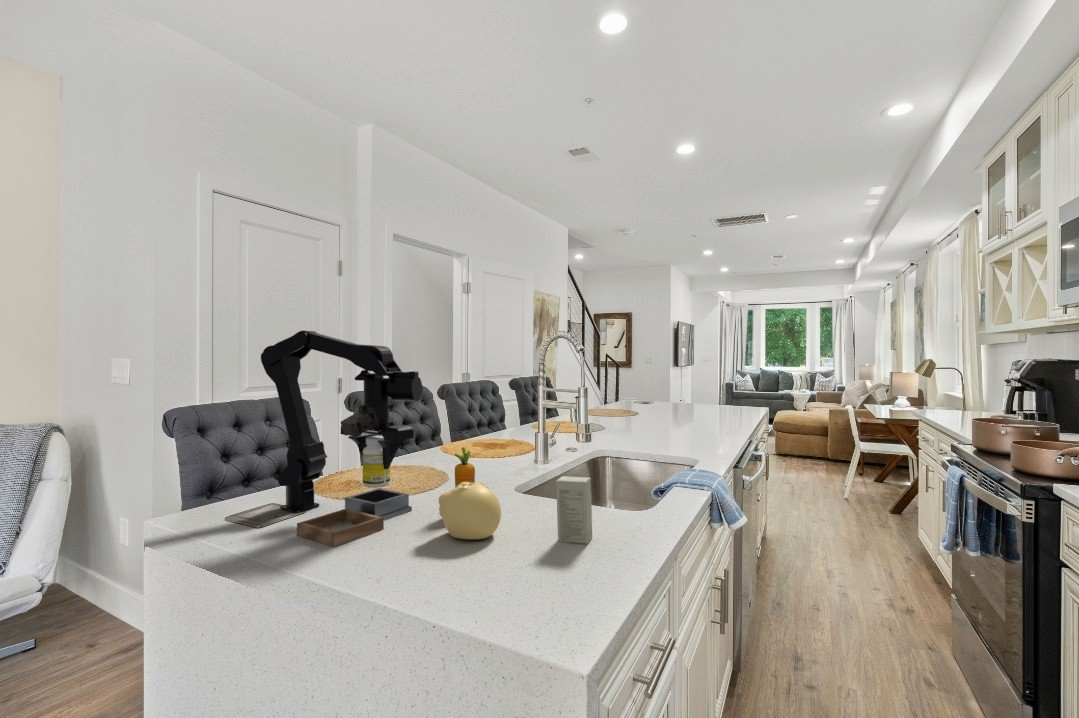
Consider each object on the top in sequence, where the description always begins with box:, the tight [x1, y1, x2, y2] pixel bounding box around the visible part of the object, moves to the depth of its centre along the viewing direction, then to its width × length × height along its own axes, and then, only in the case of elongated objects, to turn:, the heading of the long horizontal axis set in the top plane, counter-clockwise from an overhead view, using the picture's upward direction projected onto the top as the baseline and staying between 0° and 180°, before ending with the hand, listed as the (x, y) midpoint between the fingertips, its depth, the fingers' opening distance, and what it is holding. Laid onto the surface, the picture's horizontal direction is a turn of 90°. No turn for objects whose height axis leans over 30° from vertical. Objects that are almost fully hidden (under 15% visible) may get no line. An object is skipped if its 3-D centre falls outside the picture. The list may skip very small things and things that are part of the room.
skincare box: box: [555, 475, 593, 544], centre depth 106 cm, size 6×4×12 cm
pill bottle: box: [362, 435, 391, 489], centre depth 124 cm, size 6×6×11 cm
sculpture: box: [438, 482, 502, 540], centre depth 109 cm, size 11×12×11 cm
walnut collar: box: [296, 508, 385, 548], centre depth 111 cm, size 12×12×2 cm
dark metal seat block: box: [344, 487, 413, 521], centre depth 124 cm, size 11×11×4 cm
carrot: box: [454, 447, 476, 488], centre depth 124 cm, size 5×5×15 cm
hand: (376, 467), depth 124 cm, fingers closed on pill bottle, 6 cm apart
